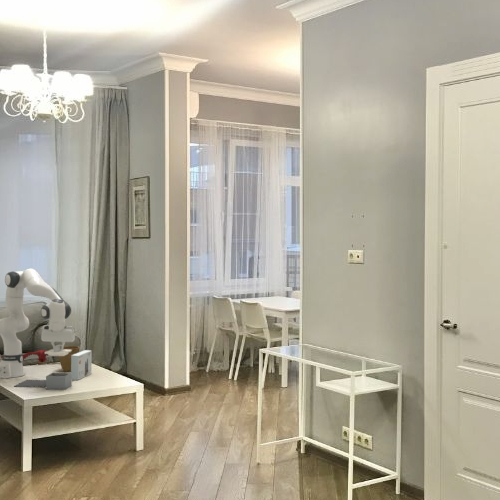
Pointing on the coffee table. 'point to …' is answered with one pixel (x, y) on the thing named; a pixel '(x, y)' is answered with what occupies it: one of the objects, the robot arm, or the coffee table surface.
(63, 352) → the cream lid
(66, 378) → the grey storage box
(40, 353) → the decorative bird sculpture
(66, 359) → the plant pot
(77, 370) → the skincare box
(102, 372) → the coffee table surface
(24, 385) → the black rubber mat
